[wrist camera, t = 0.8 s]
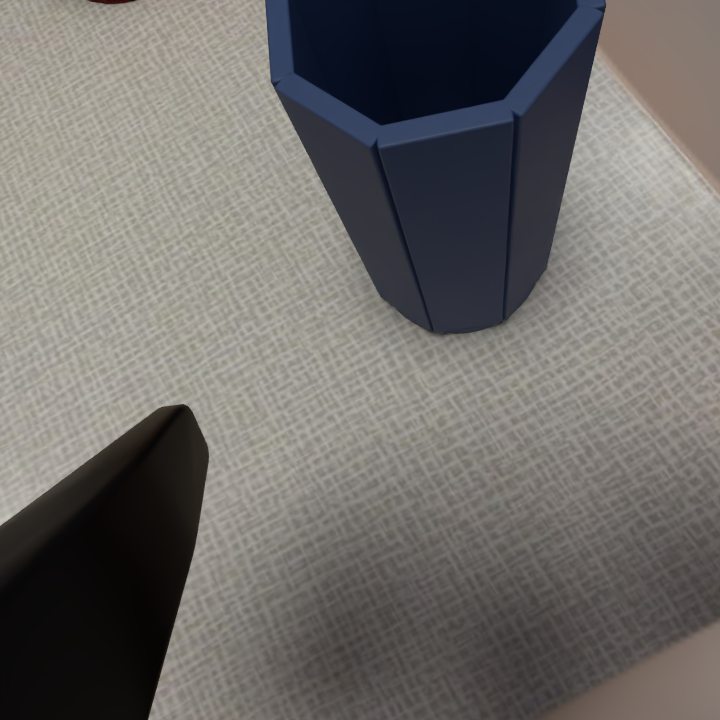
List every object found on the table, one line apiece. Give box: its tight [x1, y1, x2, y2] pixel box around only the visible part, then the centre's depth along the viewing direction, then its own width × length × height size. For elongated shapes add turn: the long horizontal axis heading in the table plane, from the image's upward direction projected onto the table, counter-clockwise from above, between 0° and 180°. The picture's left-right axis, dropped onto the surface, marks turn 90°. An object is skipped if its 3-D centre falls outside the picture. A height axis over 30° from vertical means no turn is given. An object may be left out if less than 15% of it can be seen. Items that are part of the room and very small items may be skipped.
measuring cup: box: [265, 0, 606, 333], centre depth 19 cm, size 11×6×13 cm, turn 6°
